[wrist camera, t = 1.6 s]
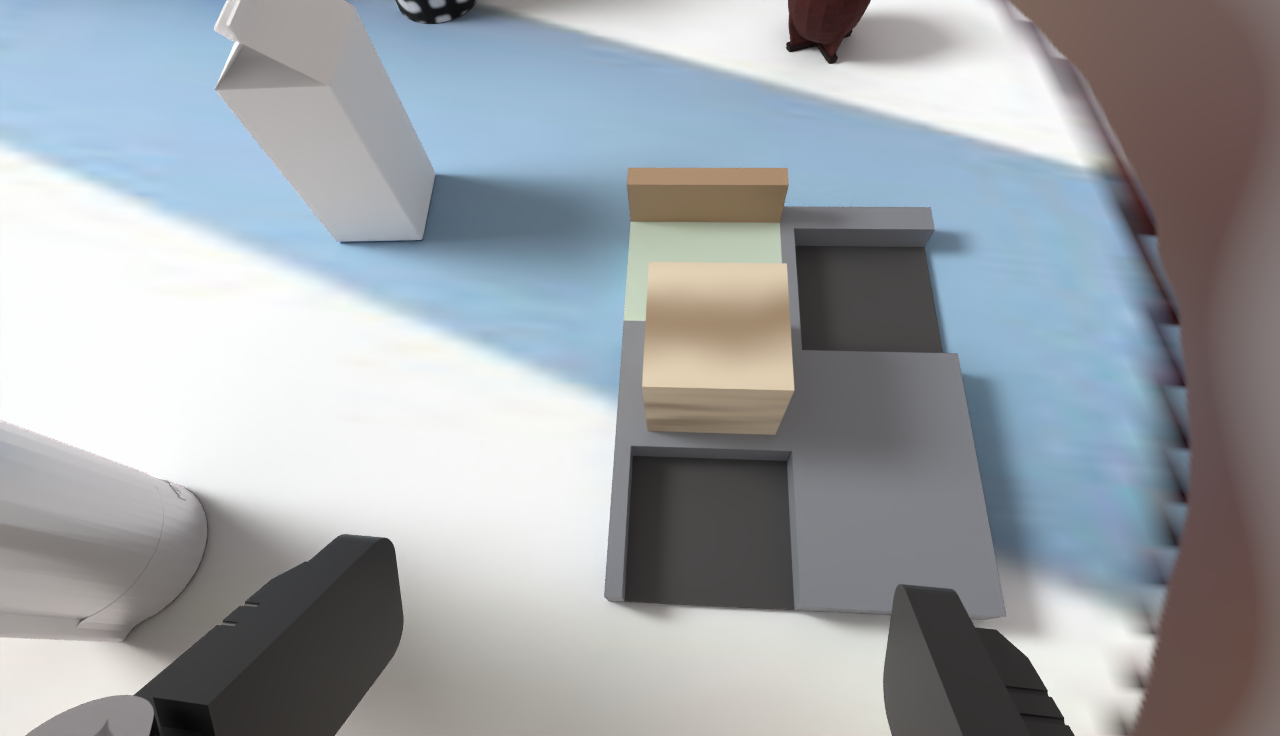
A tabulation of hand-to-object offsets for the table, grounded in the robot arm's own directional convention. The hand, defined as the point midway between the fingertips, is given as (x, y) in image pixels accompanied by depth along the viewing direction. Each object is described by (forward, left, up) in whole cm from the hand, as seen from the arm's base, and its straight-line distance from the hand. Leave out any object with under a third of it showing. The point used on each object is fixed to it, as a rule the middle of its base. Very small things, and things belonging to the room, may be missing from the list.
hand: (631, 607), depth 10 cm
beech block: (+16, +3, -27) cm, 32 cm away
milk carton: (+22, +34, -30) cm, 50 cm away
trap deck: (+18, -1, -29) cm, 35 cm away
